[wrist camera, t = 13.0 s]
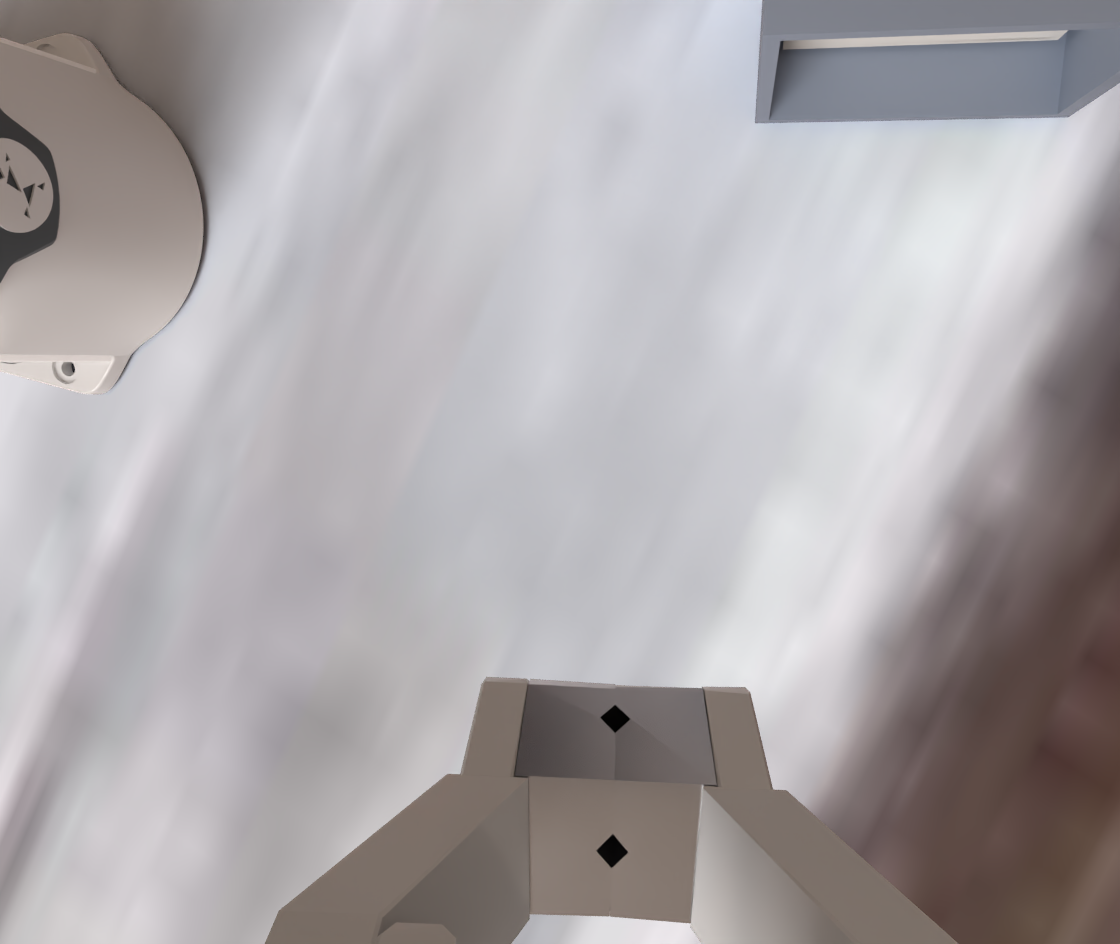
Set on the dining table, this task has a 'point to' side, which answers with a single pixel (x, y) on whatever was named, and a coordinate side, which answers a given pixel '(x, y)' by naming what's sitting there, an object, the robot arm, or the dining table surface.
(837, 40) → the tray
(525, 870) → the robot arm
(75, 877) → the dining table surface
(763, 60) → the sleeve
